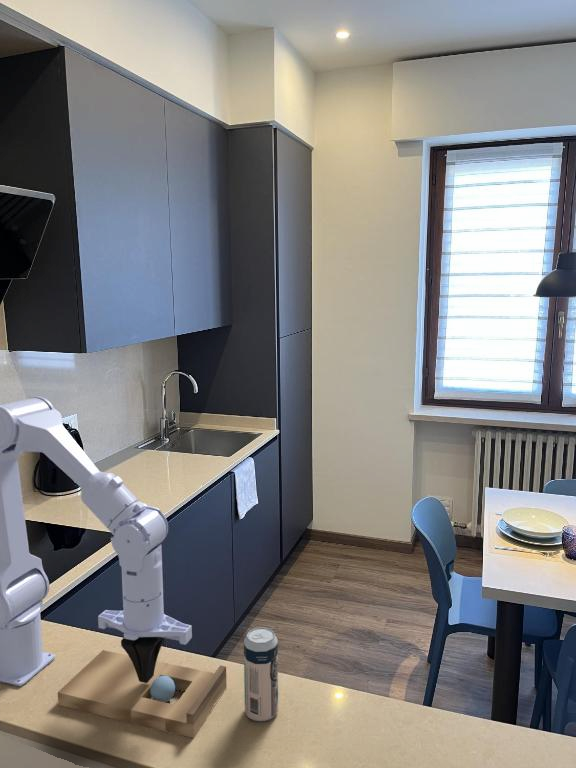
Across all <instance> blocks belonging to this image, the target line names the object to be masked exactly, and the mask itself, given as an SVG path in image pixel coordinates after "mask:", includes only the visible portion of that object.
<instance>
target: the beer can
mask: <svg viewBox="0 0 576 768" xmlns="http://www.w3.org/2000/svg"><path fill="white" fill-rule="evenodd" d="M278 641H279V640H278V638H277V636H276V634H275V632H274V631H273V629H271V628H267V627H265V626H263V627H254V628H253V629H250V630H249V631H248V633H246V637H245V638H244V640H243V666H244V667H243V668H244V669H243V671H244V672H243V676H244V678H243V683H244V685H243V686H244V712H245V715H246V716H247V717H248V718H249V719H251V720H253V721H255V722H264V721H269V720H271V719H273V718H274V717H276V715H277V713H278V711H279V665H278V664H279V657H278V656H279V654H278V653H279V651H278V650H279V644H278V643H279V642H278Z"/></svg>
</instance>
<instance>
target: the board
mask: <svg viewBox="0 0 576 768" xmlns="http://www.w3.org/2000/svg"><path fill="white" fill-rule="evenodd" d="M160 676H168V677H170V678H171V679H172V680H173V682H174V684H175V689H176V690H175V691H179V690H181V691H180V692H183V693H182V695H181V696H180V698H179V699H178V700H177V701H176V702H175V704H173V703H168V702H161V701H156V700H153V698H152V696H151V693H150V688H151V685H152V683H153V681H154V680H155V679H156V678H158V677H160ZM227 684H228V683H227V666H226V665H221V664H220V665H219V666H218V667H217V669H216V671H214V672H210V671H207V670H201V669H197V668H191V667H187V666H182V665H176V664H172V663H167V662H163V661H158V660H157V661H156V665H155V670H154V676H153V677H152V678H151V679H150V680H149V681H148V683H144V682H139V679H138V676H137V673H136V670H135V667H134V665H133V663H132V661H131V659H130V657H129V655H128V654H123V653H119V652H114V651H110V650H104V649H102V650H101V651H100V652H99V653H98V654H97V655H96V656H95V657H94V658H93V659H92V660H91V661H89V662H88V664H86V665H85V666H84V667H83V668H82V669H81V670H80V671H79V672H78V673H77V674H75V675H74V677H73V678H71V679H70V680H69V681H68V682H67V683H66V684H65V685H64V686H63V687H62V688H61V689H59V690H58V691H57V703H58V704H57V705H58V706H61V707H66V708H68V709H69V708H70V709H74V710H78V711H82V712H86V713H88V714H89V713H90V714H94V715H99V716H102V717H107V718H110V719H114V720H118V721H123V722H127V723H129V724H130V723H131V724H136V725H139V726H143V727H146V728H149V729H150V728H151V729H154V730H159V731H161V732H166V733H171V734H175V735H180V736H184V737H187V738H190V739H191V738H192V739H195V737H196V736H197V734H198V733H199V731H200V730H201V728H202V727H203V724H204V723H205V722H206V720H207V719H208V717H209V716H208V714H209V713H210V714H211V712H212V711H213V709H214V708H215V706H214V704H215V703H216V702H217V700H218V699H219V697H220V696H221V697H222V695H223V694H224V692H225V691H226V689H227V688H226V687H228V686H227ZM225 688H226V689H225ZM224 690H225V691H224ZM184 691H185V692H184ZM222 693H223V694H222ZM221 697H220V698H221ZM219 700H220V699H219ZM219 700H218V701H219ZM217 703H218V702H217ZM217 703H216V704H217ZM213 707H214V708H213ZM212 708H213V709H212ZM211 710H212V711H211ZM210 714H209V715H210ZM207 716H208V717H207ZM206 718H207V719H206Z"/></svg>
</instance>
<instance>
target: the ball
mask: <svg viewBox="0 0 576 768" xmlns="http://www.w3.org/2000/svg"><path fill="white" fill-rule="evenodd" d="M175 692H176V690H175V684H174V682H173V680H172V679H171V678H170V677H168V676H160V677H158V678H156V679H155V680H154V681H153V683H152V685H151V688H150V693H151V696H152V698H151V699H152V700H156V701H161V702H165V703H168V702H169V701H170V700H172V698H173V697H174V695H175Z"/></svg>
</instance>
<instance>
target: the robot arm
mask: <svg viewBox="0 0 576 768" xmlns="http://www.w3.org/2000/svg"><path fill="white" fill-rule="evenodd" d="M62 416H63V415H62V413H61V412H60V411H59V410H57V409H56V408H55V407H54V405H53V404H52V403H51V402H50V401H49V399H47V398H45V397H43V396H37V395H35V396H33V397H30V398H28V399H27V398H26V399H23V400H18V401H14V402H13V401H12V402H10V403H9V402H8V403H4V404H0V682H2V683H6V684H9V685H14V686H18V687H21V686H23V685H25V684H26V683H27V682H28V681H30V680H31V679H32V678H33V677H34V676H36V674H38V673H39V672H40V671H41V670H42V669H44V668H45V667H46V666H48V664H49V663H51V662H52V661H53V660H54V659H55V658H56V654H55V653H50V652H45V651H43V650H44V649H43V635H42V623H41V622H42V619H41V609H42V608H43V607H44V606H43V602H44V601H43V600H44V599H45V598H46V597H48V596H47V595H48V594H49V592H50V582H49V578H48V576H47V574H46V572H45V571H44V567H43V563H42V558H40V557H38V556H36V555H34V554H31V552H30V550H29V549H30V548H29V547H30V546H29V540H28V532H27V524H26V518H25V516H26V515H25V509H24V501H23V493H22V485H21V478H20V477H21V476H20V468H19V461H18V459H19V457H20V456H21V455H22V454H23V453H24V452H29V453H30V452H31V453H33V452H34V453H42V454H44V455H45V456H46V457H47V458H48V459H49V460H50V461H52V462H53V463H54V464H55V465H56V466H57V467H58V468H59V469H60V470H62V472H64V474H66V475H67V477H69V478H70V479H71V480H72V481H73V482H74V483H75V484H76V485H78V486H79V488H81V495H80V499H81V502H82V503H83V504H84V505H85V506H86V507H87V508H88V509H89V510H90V511H91V513H92V514H93V515H94V516H95V517H96V518H97V519H98V520H99V521H100V522H101V524H102V525H104V526H105V528H106V529H107V530H108V531H109V532H110V533H111V534H112V535H113V536H112V537H110V542H111V545H112V548H113V550H114V552H115V553H116V554H117V557H118V560H119V562H118V563H119V567H121V583H122V584H121V585H122V587H121V588H122V608H123V610H109V609H105V610H104V611H103V612H101V613H100V614H99V615H98V616H97V622H98V629H100V630H101V629H102V630H105V629H107V628H110V629H116V630H118V631H120V632H122V633H123V638H122V639H121V641H120V647H121V648H123V650H124V651H125V652H126V655H129V657H130V659H131V661H132V663H133V665H134V667H135V670H136V673H137V676H138V679H139V682H144V683H148V681H149V680H150V679H151V678H152V677H153V676H154V670H155V665H156V661H158V657H159V654H160V651H161V648H162V646H163V644H164V641H165V639H167V640H168V639H169V640H174V641H179V644H180V645H184V646H186V645H187V644H188V643H189V642H190V641H191V639H192V638H193V633H192V632H193V631H192V629H193V628H192V627H193V626H192V625H191V624H188V623H187V624H186V623H183V622H181V621H179V620H177V619H175V618H173V617H171V616H169V615H166V614H165V611H164V608H165V607H164V582H163V581H164V580H163V556H162V555H163V553H162V544H161V543H162V542H163V541H164V540H165V538H166V537H167V535H168V533H169V522H168V520H167V518H166V517H165V515H164V513H163V512H162V511H161V509H159V508H158V507H157V506H153V505H148V504H146V503H144V502H142V501H140V500H139V499H138V498H137V497H136V496H135V495H134V494H133V493H132V492H131V491H130V490H129V489H128V487H127V486H126V485H125V484H124V480H123V479H122V477H120V476H119V475H115V474H114V473H113V472H106V471H100V469H98V467H97V466H96V465H95V464H94V462H93V461H92V460H91V458H90V457H89V456H88V455H87V454H86V452H85V451H84V450H83V449H82V447H80V445H79V444H78V443H77V441H76V440H75V439H74V438H73V436H72V435H71V434H70V432H69V431H68V430H67V429H66V428H65V426H64V424H63V417H62Z"/></svg>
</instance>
